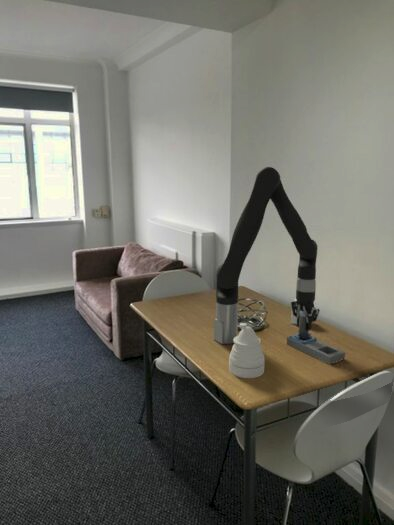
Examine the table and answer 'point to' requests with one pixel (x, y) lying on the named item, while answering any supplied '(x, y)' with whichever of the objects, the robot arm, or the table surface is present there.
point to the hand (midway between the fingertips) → (303, 328)
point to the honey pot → (246, 354)
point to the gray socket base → (316, 348)
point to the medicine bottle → (293, 317)
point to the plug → (303, 327)
